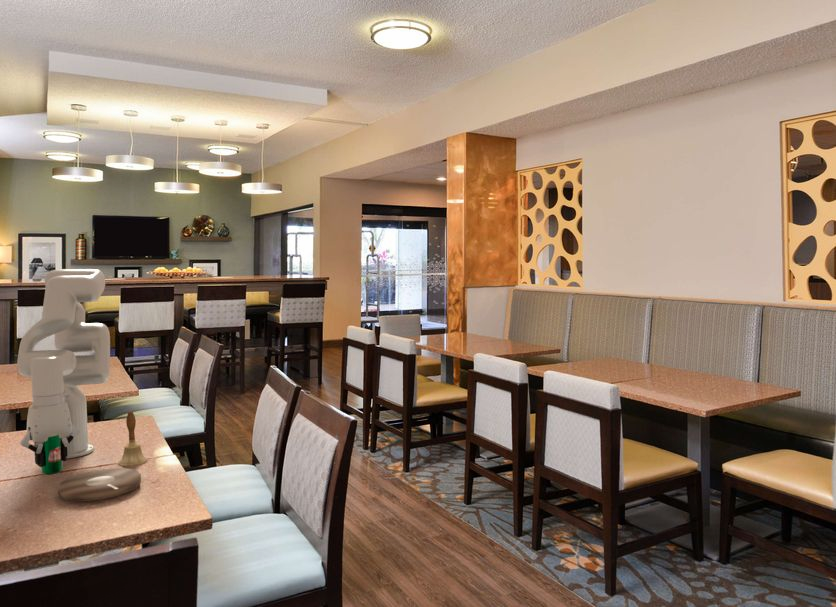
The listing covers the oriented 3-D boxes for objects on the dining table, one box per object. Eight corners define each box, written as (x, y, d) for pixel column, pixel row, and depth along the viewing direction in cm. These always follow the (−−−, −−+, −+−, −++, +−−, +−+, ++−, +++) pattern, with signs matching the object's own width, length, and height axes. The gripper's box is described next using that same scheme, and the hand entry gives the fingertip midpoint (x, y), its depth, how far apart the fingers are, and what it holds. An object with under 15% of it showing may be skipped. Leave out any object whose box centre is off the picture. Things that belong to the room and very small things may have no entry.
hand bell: (136, 467, 181) (134, 415, 180) (111, 465, 183) (110, 413, 182) (153, 458, 190) (151, 408, 188) (130, 456, 191) (128, 407, 190)
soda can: (51, 476, 166) (49, 434, 165) (37, 474, 167) (35, 432, 166) (67, 470, 171) (65, 428, 169) (53, 467, 172) (51, 427, 171)
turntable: (44, 488, 161) (44, 483, 161) (119, 468, 177) (119, 463, 177) (77, 507, 149) (77, 501, 149) (155, 484, 165) (154, 478, 165)
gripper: (75, 391, 176) (78, 451, 178) (8, 403, 162) (12, 468, 164) (86, 395, 171) (89, 457, 173) (18, 408, 158) (22, 475, 160)
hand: (51, 462), depth 169 cm, fingers closed on soda can, 5 cm apart
